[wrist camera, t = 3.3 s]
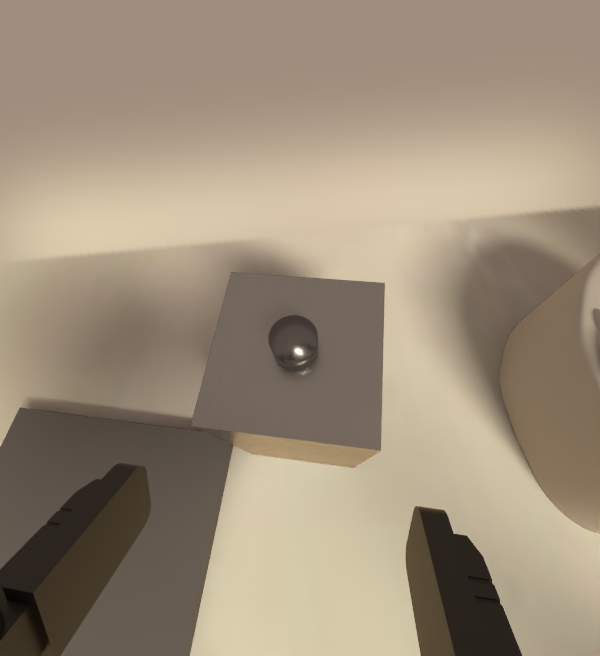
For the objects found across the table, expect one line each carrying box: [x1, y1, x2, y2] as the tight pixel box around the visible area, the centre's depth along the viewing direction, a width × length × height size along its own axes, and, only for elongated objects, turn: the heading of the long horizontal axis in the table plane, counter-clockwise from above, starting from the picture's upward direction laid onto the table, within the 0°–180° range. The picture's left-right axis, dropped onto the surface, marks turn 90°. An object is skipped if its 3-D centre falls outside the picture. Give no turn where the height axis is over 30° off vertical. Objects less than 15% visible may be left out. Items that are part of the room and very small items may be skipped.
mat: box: [0, 408, 233, 656], centre depth 18 cm, size 14×12×1 cm
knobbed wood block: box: [191, 272, 385, 468], centre depth 15 cm, size 6×6×11 cm
